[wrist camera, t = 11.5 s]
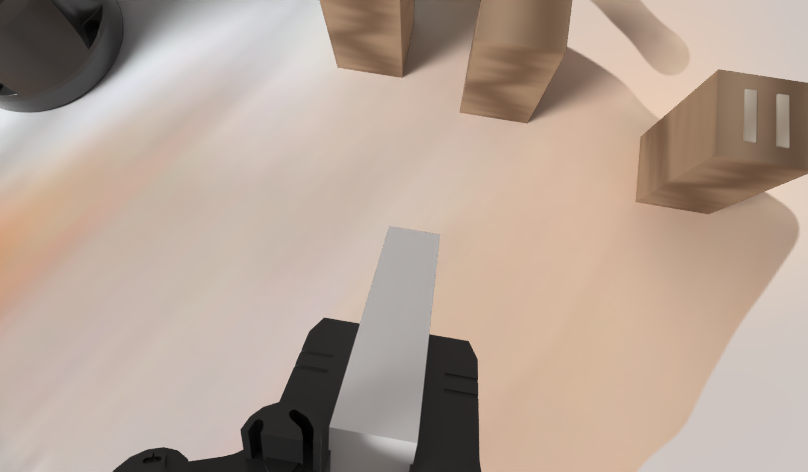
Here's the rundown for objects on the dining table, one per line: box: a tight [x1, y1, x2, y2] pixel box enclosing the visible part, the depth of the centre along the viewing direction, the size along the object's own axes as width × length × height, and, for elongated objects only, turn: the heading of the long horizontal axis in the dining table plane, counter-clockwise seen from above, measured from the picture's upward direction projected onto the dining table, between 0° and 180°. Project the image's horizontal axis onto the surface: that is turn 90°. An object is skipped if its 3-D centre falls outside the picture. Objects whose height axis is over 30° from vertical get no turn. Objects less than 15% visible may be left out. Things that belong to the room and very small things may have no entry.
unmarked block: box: [460, 0, 572, 123], centre depth 35 cm, size 6×6×10 cm
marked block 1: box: [636, 70, 808, 214], centre depth 33 cm, size 6×6×10 cm
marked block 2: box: [320, 0, 414, 78], centre depth 36 cm, size 6×6×10 cm
